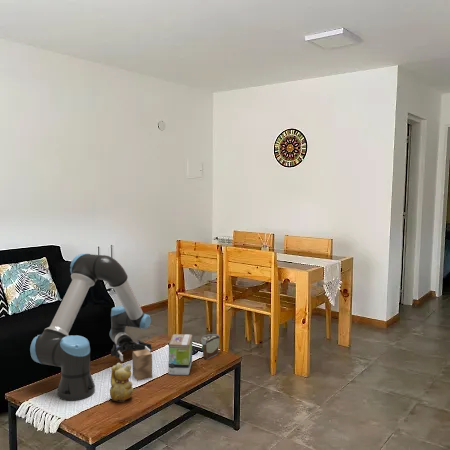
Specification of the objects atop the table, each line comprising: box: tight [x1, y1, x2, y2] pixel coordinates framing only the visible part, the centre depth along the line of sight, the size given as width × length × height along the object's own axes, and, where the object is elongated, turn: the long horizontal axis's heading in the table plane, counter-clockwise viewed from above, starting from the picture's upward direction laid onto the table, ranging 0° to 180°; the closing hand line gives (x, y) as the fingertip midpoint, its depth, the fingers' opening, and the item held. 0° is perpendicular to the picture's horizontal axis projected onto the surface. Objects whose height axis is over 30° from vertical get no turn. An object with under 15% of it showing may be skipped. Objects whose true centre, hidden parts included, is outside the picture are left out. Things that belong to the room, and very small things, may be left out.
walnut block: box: [131, 349, 153, 381], centre depth 215 cm, size 7×7×11 cm
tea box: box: [167, 333, 193, 376], centre depth 224 cm, size 15×10×15 cm
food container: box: [200, 333, 221, 360], centre depth 241 cm, size 12×6×10 cm, turn 144°
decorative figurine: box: [109, 362, 134, 403], centre depth 192 cm, size 10×8×15 cm
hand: (136, 355), depth 223 cm, fingers open, 13 cm apart
